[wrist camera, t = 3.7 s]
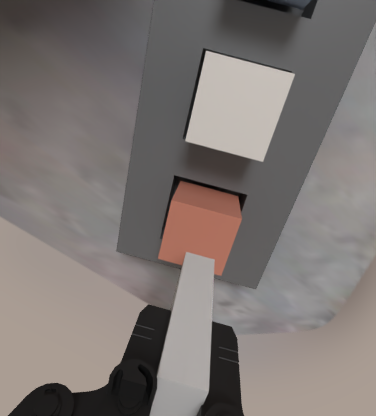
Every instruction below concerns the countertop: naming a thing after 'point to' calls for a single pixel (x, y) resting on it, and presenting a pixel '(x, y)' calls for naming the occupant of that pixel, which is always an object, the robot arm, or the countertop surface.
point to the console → (223, 161)
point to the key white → (237, 106)
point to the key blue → (292, 3)
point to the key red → (200, 225)
